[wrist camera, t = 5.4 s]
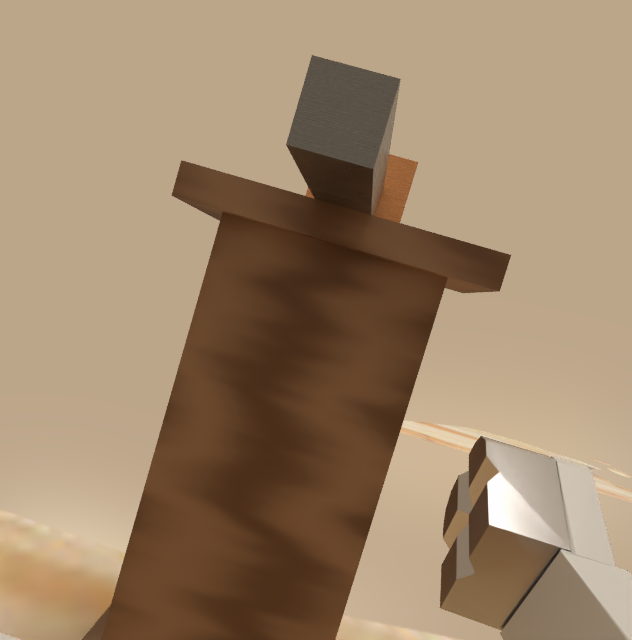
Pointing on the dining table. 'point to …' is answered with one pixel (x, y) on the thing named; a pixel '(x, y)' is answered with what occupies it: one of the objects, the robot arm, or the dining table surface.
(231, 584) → the walnut stand
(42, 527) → the dining table surface
